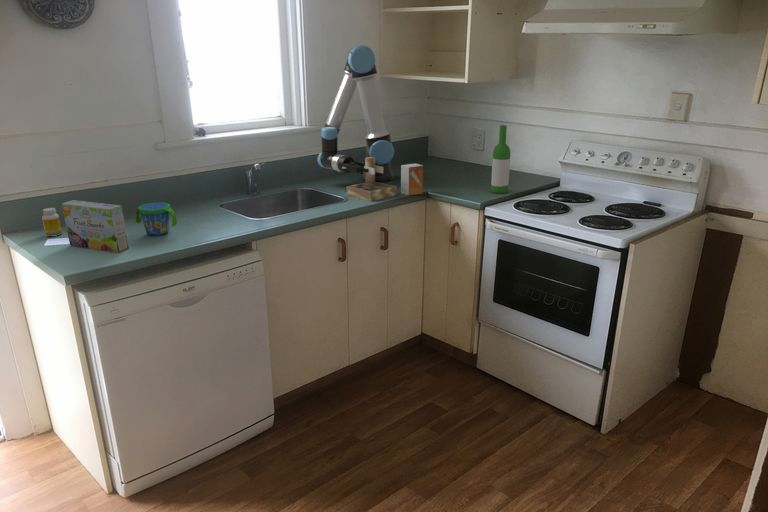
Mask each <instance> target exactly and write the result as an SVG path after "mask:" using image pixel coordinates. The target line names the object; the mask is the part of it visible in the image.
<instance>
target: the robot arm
mask: <svg viewBox="0 0 768 512" xmlns="http://www.w3.org/2000/svg"><path fill="white" fill-rule="evenodd" d="M343 73H344V75H343V78H342V80H341V82H340V85H339V87H338V91H337V93H336V95H335V98H334V100H333V103H332V105H331V106H332V107H331V109H330V112H329V114H328V116H327V119H326V121H325V125H324V127H322V128H321V131H320V132H321V133H320V137H321V152H320V153H319V154H318V156H317V164H318V166H320V167H321V168H324V169H325V170H334V171H337V172H339V173H346V174H348V173H356V174H358V173H360V175H363V180H364V179H365V173H367V174H372V175H375V181H383V182H387V181H386V180H390V181H392V180H394V173H393V171H392V167H391V161H392V159H393V157H394V156H395V148H394V145H393V143H392V139H391V133H390V132H389V131H388V130H387V129H386V125H385V121H384V116H383V111H382V106H381V102H380V97H379V92H378V86H377V83H376V76H377V75H378V71H377V66H376V56H375V53H374V51H373V50H372V49H371V48H370V47H369V46H367V45H365V44H364V45H363V44H361V45H360V44H359V45H355V46H353V47H352V48H350V49H349V51H348V54H347V58H346V63H345V66H344V69H343ZM357 89H358V91H357V92H358V94H359V99H360V104H361V108H362V114H363V119H364V122H365V123H364V124H365V126H366V130H367V134H366V136H365V141H366V143H365V144H366V157H374V158H375V168H370V167H365V160H362V161H357V160H354V158H353V157H351V156H349V155H343V154H339V153H338V152H339V149H338V147H339V146H338V143H339V141H338V140H339V139H338V136H339V134H340V130H341V127H342V125H343V123H344V121H345V120H344V119H345V118H346V115H347V113H348V110H349V108H350V105H351V102H352V100H353V98H354V94H355V92H356V90H357ZM391 179H392V180H391Z"/></svg>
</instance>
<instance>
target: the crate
mask: <svg viewBox="0 0 768 512" xmlns="http://www.w3.org/2000/svg"><path fill="white" fill-rule="evenodd" d="M345 191H346V193H345V194H346V196H348V197H352V198H356V199H360V200H363V201H369V202H374V201H377V200H381V199H382V200H383V199H386V198H389V197H394V196H397V185H392V184H386V183H382V182H375V185H374V186H367V185H365V182H361V183H357V184H353V185H348V186H346V187H345Z"/></svg>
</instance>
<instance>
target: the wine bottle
mask: <svg viewBox="0 0 768 512" xmlns="http://www.w3.org/2000/svg"><path fill="white" fill-rule="evenodd" d="M507 126H508V125H505V124H500V125H499V135H498V144H496V145H495V147H494V148H493V151H492V162H491V163H492V164H491V179H490V180H491V182H490V183H491V184H490V191H491V192H492V193H494V194H506V193H508V191H509V184H510V183H509V181H510V180H509V179H510V169H511V168H510V165H511V164H510V163H511V148H510V147H509V145H508V144H507Z"/></svg>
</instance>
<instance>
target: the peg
mask: <svg viewBox="0 0 768 512" xmlns="http://www.w3.org/2000/svg"><path fill="white" fill-rule="evenodd" d="M364 162H365V167H370V168H375V158H374V157H367V156H366V157H365V158H364ZM364 183H365V185H367V186H374V185H375V175H372V174H367V173H365V180H364Z"/></svg>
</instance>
